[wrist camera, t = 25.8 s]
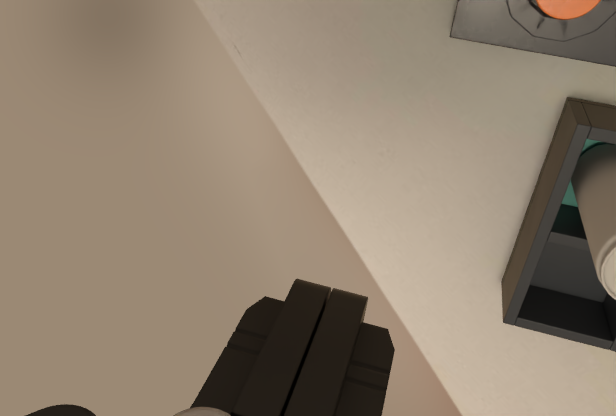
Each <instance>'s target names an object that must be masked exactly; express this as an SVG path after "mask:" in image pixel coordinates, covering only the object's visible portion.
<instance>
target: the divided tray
mask: <svg viewBox="0 0 616 416" xmlns="http://www.w3.org/2000/svg"><path fill="white" fill-rule="evenodd" d="M607 143H610V144H615V145H616V106H612V105H607V104H601V103H596V102H591V101H586V100H580V99H575V98H570V97H568V98H567V100H566V103H565V105H564V108H563V111H562V114H561V117H560V119H559V122H558V125H557V128H556V131H555V134H554V136H553V139H552V142H551V145H550V148H549V150H548V153H547V156H546V159H545V162H544V164H543V167H542V170H541V173H540V176H539V178H538V181H537V184H536V187H535V190H534V192H533V195H532V198H531V201H530V204H529V206H528V209H527V212H526V215H525V218H524V220H523V223H522V226H521V229H520V232H519V234H518V237H517V240H516V243H515V246H514V248H513V251H512V254H511V257H510V260H509V262H508V265H507V268H506V271H505V274H504V276H503V279H502V308H503V323H506V324H510V325H515V326H518V327H522V328H526V329H530V330H534V331H538V332H541V333H545V334H549V335H553V336H557V337H561V338H565V339H569V340H573V341H576V342H580V343H584V344H588V345H592V346H596V347H600V348H604V349H608V350H609V349H610V350H612V351H615V352H616V300H615V299H614V298H613V297H611V296H610V295H609V294H608V292H607V291H606V289H605V288H604V287H603V285H602V284H601V282H600V281H599V279H598V276H597V273H596V269H595V266H594V262H593V259H592V255H591V252H590V248H589V244H588V241H587V237H586V234H585V230H584V226H583V223H582V219H581V216H580V212H579V209H578V205H577V201H576V198H575V194H574V191H573V187H572V183H571V178H572V175H573V173H574V170H575V167H576V165H577V162H578V160H579V158H580V156H582V155H583V154H584V153H585V152H586V151H588V150H589V149H591V148H593V147H595V146H598V145H603V144H607Z"/></svg>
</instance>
